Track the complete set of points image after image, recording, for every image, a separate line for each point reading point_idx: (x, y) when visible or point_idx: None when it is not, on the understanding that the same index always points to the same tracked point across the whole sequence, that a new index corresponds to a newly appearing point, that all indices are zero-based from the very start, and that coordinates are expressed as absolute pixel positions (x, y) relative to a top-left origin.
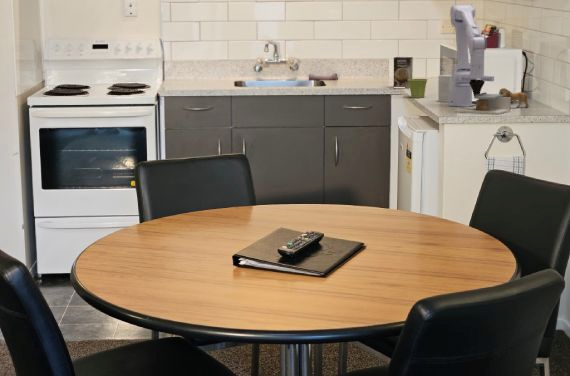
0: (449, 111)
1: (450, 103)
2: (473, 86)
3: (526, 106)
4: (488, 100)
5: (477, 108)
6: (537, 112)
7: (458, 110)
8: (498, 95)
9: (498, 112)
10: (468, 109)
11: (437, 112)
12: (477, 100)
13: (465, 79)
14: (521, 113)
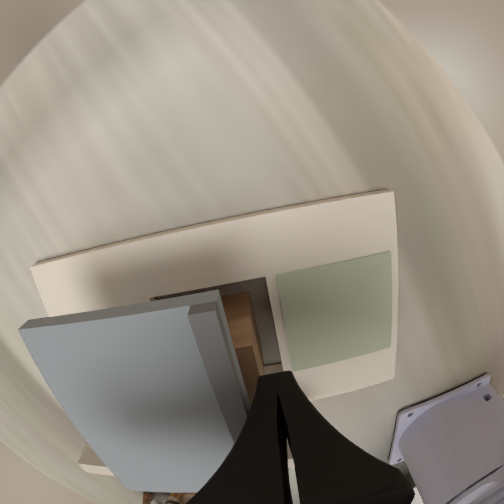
0: (430, 202)
1: (488, 388)
2: (312, 460)
3: (144, 497)
4: None
5: (236, 307)
6: (13, 409)
7: (360, 196)
8: (102, 454)
9: (36, 268)
10: (305, 270)
11: (462, 114)
12: (236, 346)
13: (490, 501)
14: (14, 361)
